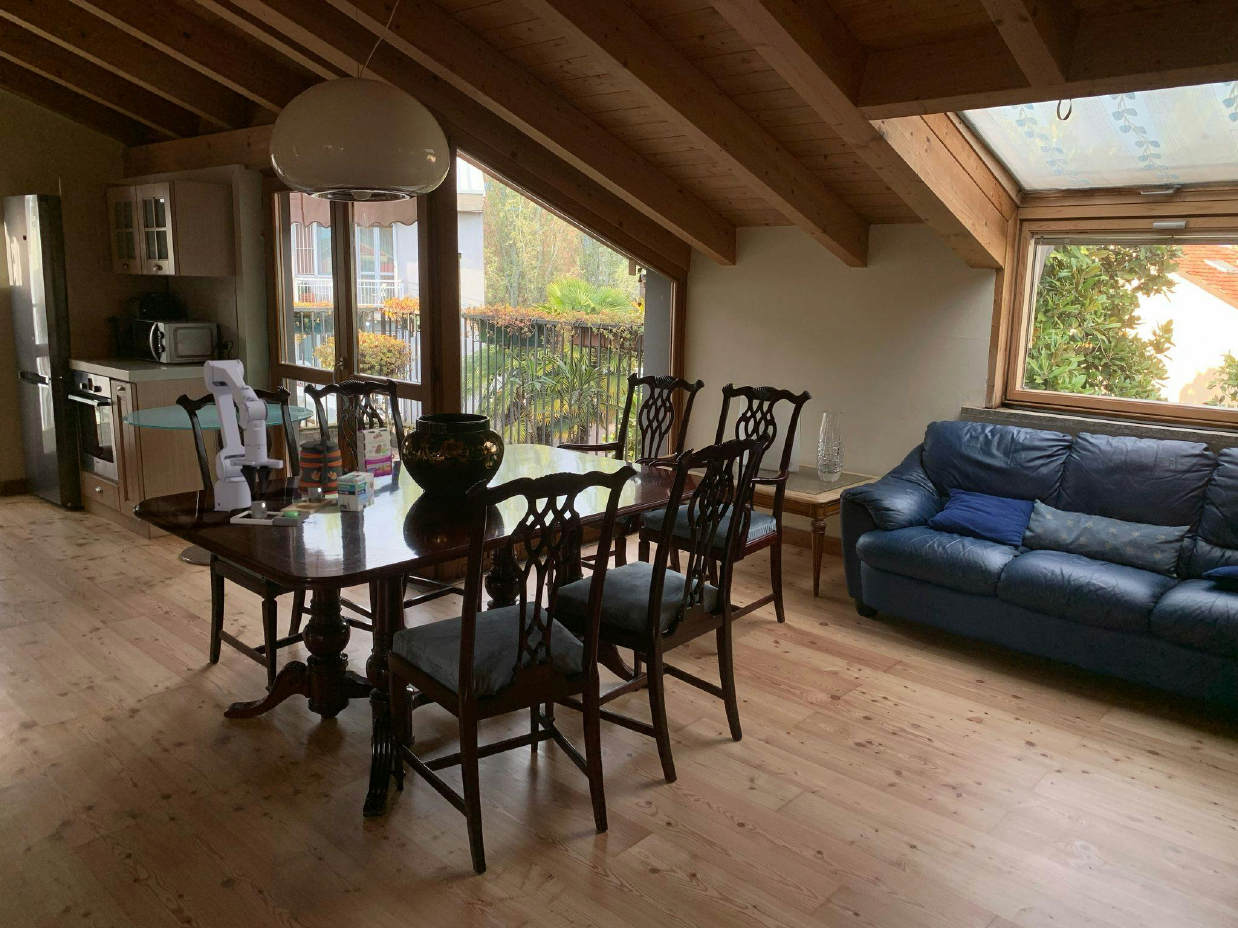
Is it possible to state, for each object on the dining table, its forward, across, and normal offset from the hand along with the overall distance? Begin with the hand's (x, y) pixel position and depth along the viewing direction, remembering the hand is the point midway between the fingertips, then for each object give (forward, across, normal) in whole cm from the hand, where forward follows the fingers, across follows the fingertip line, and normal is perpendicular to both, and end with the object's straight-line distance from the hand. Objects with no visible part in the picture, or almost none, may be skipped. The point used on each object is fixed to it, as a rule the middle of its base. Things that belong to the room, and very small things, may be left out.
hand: (258, 492), depth 259 cm
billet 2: (+7, +8, +18) cm, 21 cm away
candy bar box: (+9, +7, +68) cm, 69 cm away
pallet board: (+8, +8, +14) cm, 18 cm away
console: (+8, +10, -1) cm, 13 cm away
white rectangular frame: (+8, 0, 0) cm, 8 cm away
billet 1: (+8, 0, 0) cm, 8 cm away
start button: (+7, +10, -1) cm, 12 cm away
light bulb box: (+9, +21, +18) cm, 29 cm away
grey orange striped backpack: (+9, +3, +35) cm, 36 cm away
